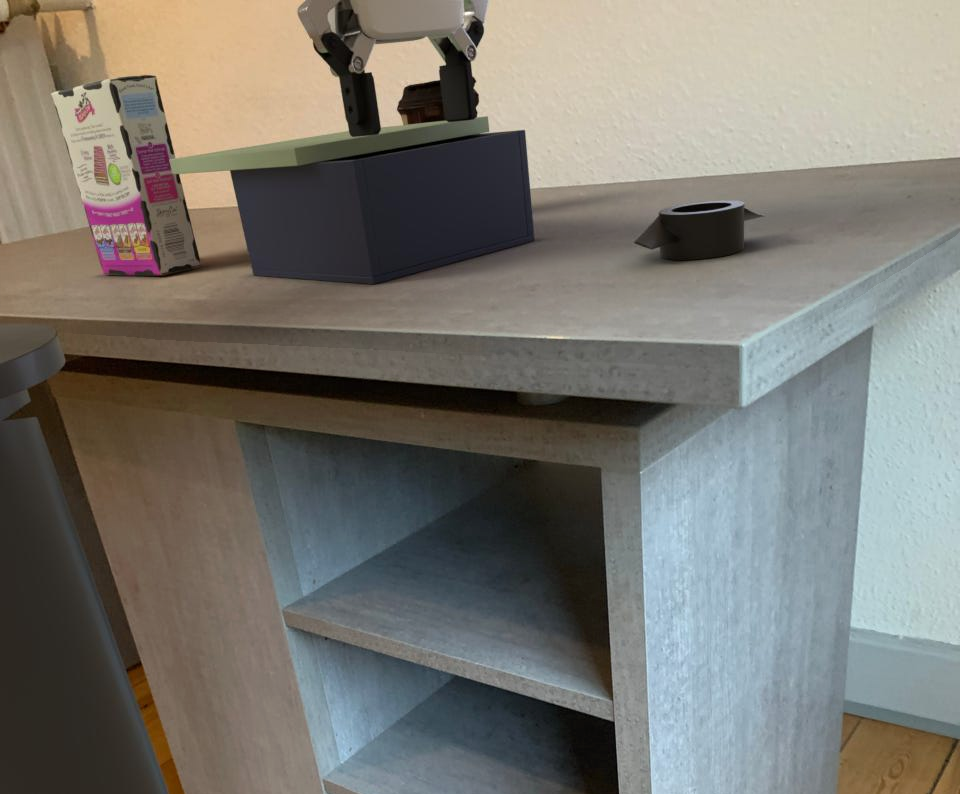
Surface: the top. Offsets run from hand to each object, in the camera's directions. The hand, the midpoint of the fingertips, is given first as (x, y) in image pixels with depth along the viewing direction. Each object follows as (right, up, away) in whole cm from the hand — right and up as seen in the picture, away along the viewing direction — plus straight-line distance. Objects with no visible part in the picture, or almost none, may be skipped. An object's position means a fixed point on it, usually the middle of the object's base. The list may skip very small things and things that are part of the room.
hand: (414, 127), depth 76 cm
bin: (-2, -7, +9) cm, 11 cm away
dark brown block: (+2, +4, +27) cm, 27 cm away
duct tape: (+21, -13, -7) cm, 25 cm away
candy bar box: (-27, -4, +21) cm, 35 cm away
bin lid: (-8, +3, +9) cm, 12 cm away
